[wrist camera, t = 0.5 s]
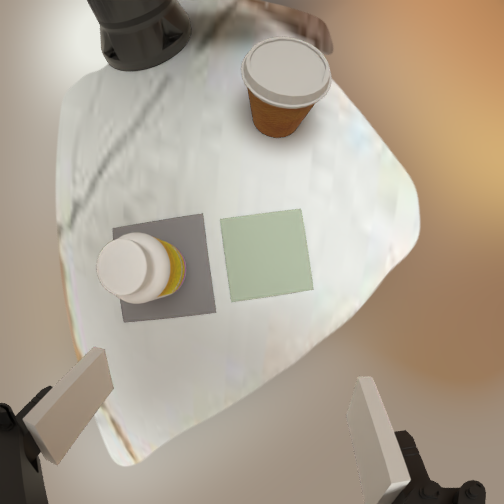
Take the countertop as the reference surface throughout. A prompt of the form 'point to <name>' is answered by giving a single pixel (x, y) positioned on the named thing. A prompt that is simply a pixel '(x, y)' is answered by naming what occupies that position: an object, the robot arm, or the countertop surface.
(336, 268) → the countertop surface
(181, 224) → the mat
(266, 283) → the mat
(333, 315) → the countertop surface
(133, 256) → the supplement bottle
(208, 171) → the countertop surface
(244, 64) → the disposable coffee cup
